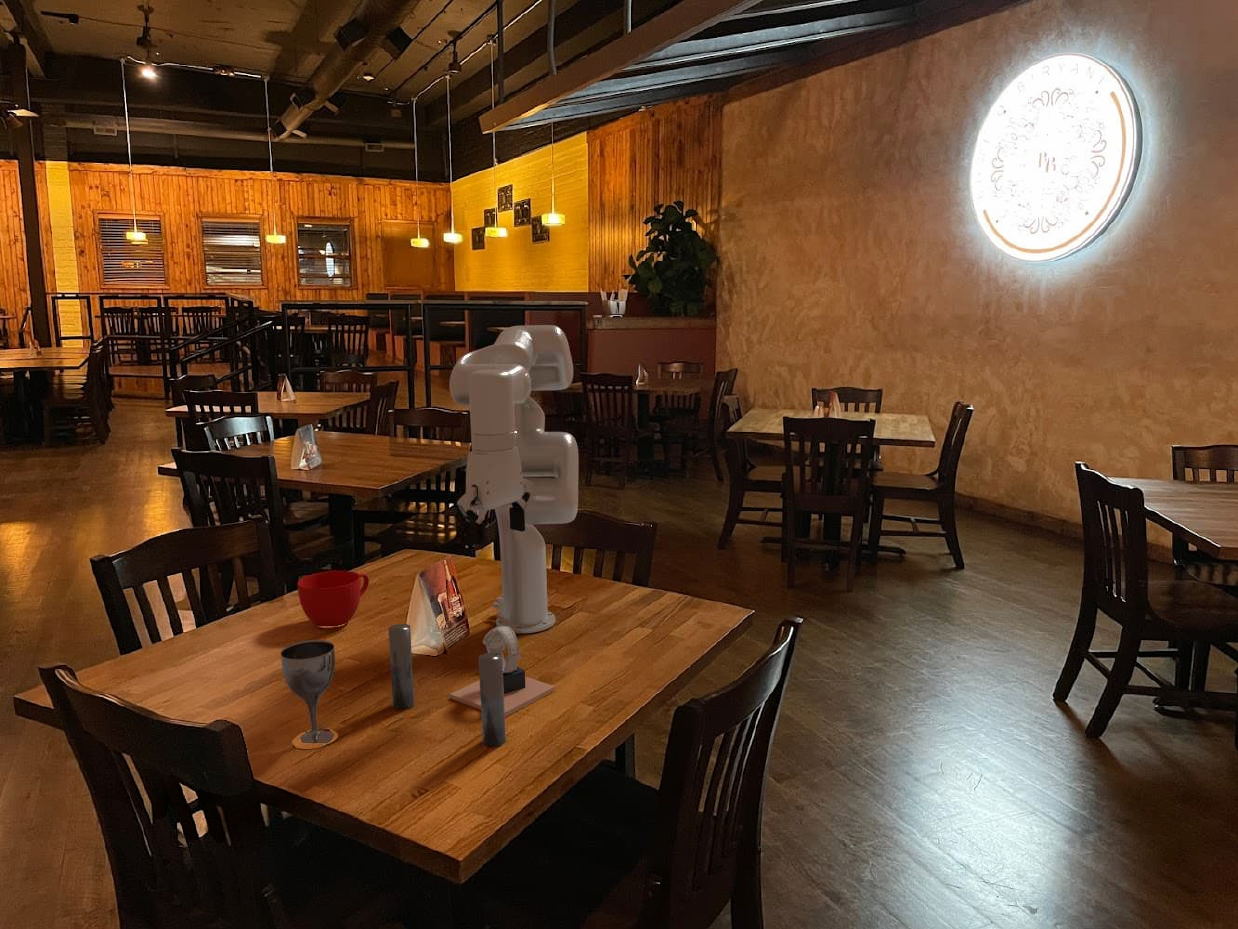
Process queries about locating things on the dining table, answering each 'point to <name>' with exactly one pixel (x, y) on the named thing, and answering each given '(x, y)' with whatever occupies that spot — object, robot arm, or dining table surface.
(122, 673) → the dining table surface
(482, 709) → the metal post
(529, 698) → the terracotta tile
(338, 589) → the ceramic cup
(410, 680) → the metal post
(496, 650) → the watch
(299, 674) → the wine glass
